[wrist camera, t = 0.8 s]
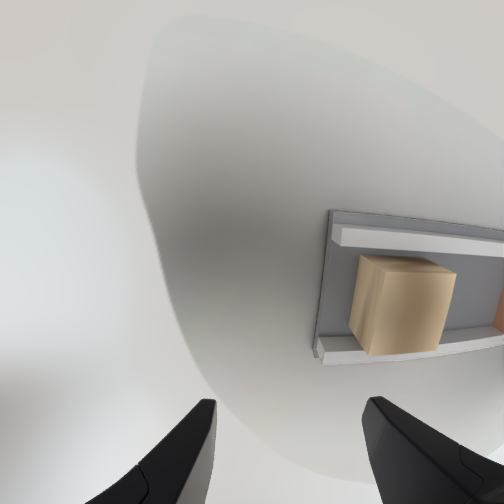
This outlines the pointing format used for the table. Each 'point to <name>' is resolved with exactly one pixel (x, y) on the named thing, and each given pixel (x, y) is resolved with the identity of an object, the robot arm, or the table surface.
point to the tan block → (400, 304)
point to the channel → (412, 245)
